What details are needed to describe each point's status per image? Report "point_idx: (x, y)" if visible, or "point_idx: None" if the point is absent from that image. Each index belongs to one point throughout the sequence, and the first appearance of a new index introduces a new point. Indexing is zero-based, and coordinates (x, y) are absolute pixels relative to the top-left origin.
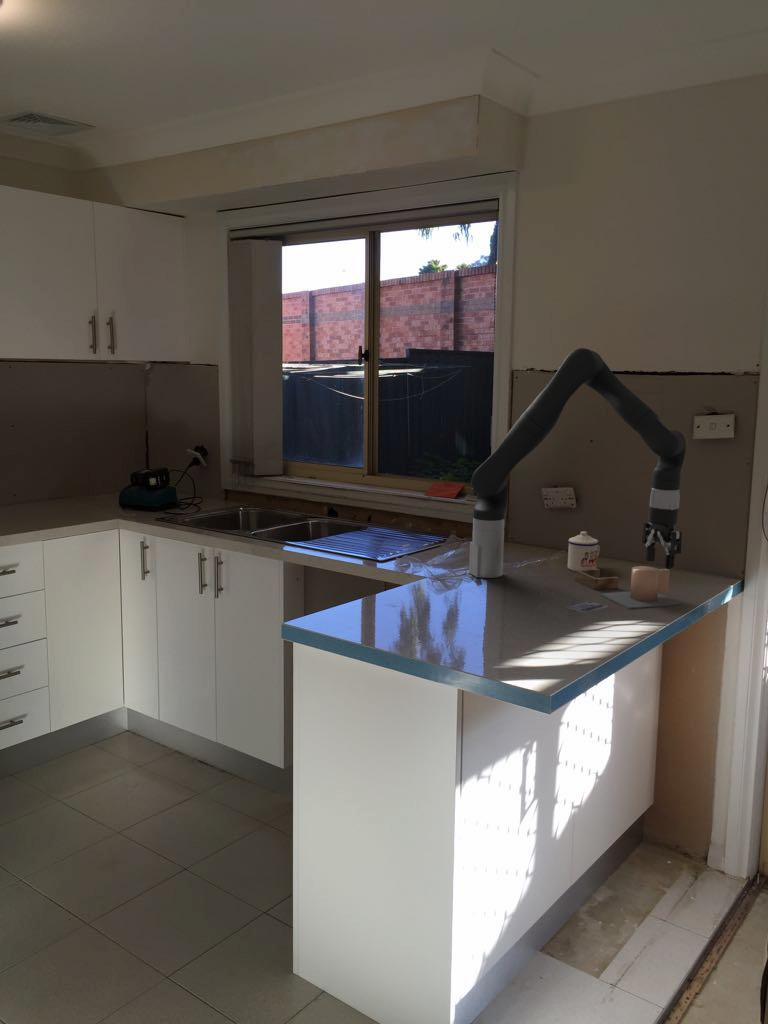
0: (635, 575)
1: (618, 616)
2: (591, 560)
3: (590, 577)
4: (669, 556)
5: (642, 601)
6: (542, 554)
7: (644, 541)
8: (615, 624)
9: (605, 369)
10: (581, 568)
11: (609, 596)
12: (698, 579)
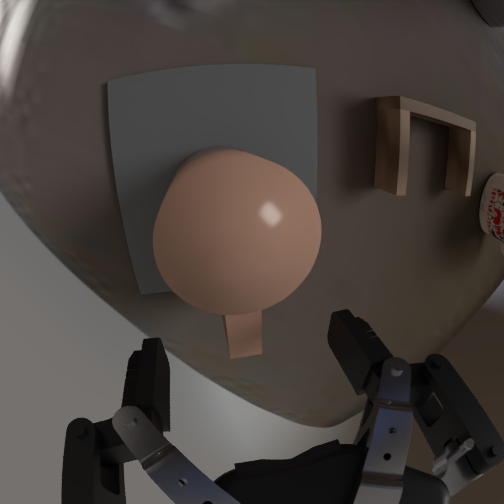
0: (214, 157)
1: (53, 32)
2: (498, 217)
3: (421, 102)
4: (128, 404)
5: (175, 169)
6: None
7: (429, 371)
8: (8, 19)
9: None
10: (490, 187)
11: (271, 77)
12: (347, 392)
